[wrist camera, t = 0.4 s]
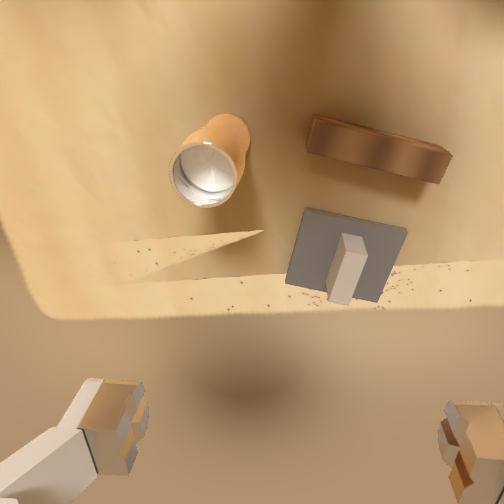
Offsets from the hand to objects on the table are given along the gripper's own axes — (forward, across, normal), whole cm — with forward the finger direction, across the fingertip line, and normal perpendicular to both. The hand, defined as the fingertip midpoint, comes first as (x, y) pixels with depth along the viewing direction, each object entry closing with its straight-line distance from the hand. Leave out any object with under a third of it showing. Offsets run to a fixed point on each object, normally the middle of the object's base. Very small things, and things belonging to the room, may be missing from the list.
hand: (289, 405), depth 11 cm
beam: (+44, -10, +4) cm, 45 cm away
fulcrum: (+43, -7, +20) cm, 48 cm away
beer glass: (+44, +9, +3) cm, 44 cm away
